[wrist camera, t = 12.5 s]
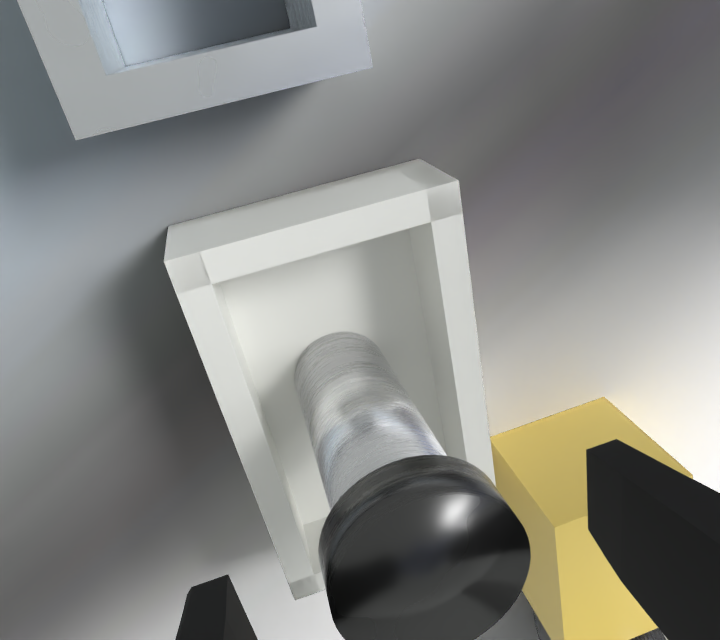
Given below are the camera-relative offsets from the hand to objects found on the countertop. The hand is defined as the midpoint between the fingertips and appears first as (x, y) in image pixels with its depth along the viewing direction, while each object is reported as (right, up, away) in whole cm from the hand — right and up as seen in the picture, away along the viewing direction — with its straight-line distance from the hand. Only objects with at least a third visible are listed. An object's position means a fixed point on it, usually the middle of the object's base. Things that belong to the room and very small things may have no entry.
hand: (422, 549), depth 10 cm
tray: (-2, +3, +6) cm, 6 cm away
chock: (+5, -2, +10) cm, 11 cm away
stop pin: (-2, +3, +5) cm, 6 cm away
